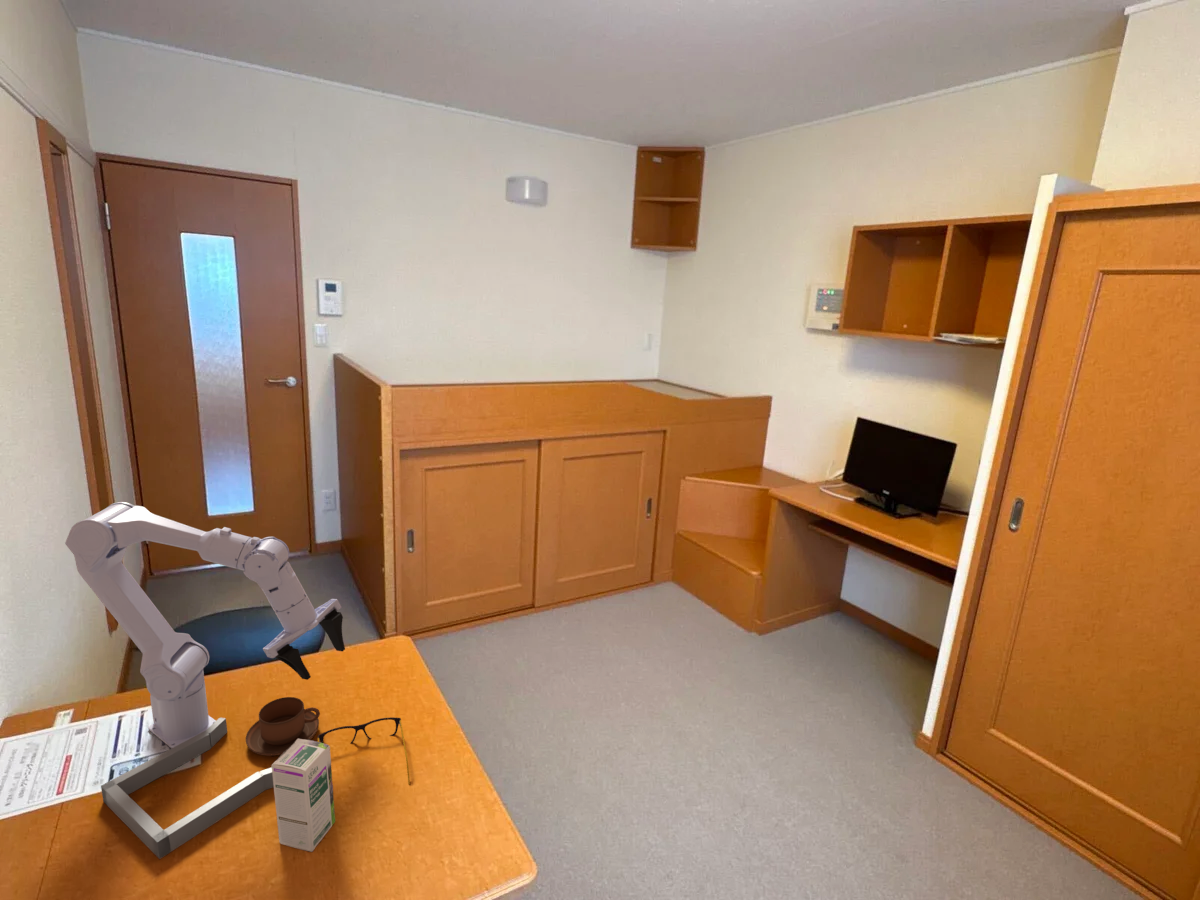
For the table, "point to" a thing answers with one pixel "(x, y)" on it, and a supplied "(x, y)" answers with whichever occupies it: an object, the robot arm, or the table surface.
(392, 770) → the table surface
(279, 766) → the syrup box
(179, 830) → the bent grey bar frame
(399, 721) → the eyeglasses
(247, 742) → the cup and saucer
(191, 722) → the robot arm
